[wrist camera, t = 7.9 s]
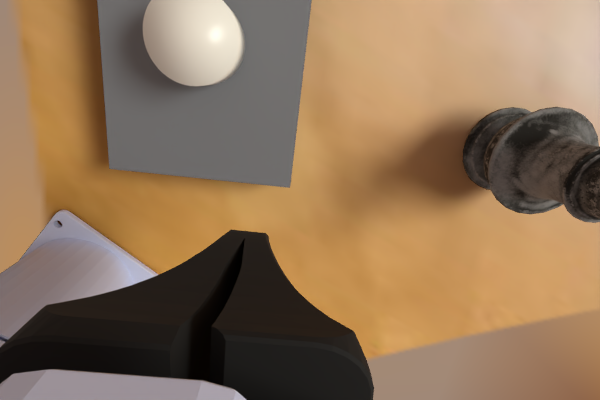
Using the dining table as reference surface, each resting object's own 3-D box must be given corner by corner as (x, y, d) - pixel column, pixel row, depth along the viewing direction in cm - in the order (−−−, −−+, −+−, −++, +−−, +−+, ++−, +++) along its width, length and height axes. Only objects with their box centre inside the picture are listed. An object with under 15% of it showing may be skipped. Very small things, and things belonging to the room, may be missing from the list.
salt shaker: (523, 202, 23) (751, 325, 12) (443, 181, 22) (602, 290, 11) (568, 116, 21) (892, 162, 10) (482, 90, 20) (723, 108, 9)
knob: (247, 88, 20) (235, 91, 15) (177, 79, 19) (144, 80, 15) (252, 11, 18) (240, -11, 14) (177, 0, 18) (140, -25, 14)
